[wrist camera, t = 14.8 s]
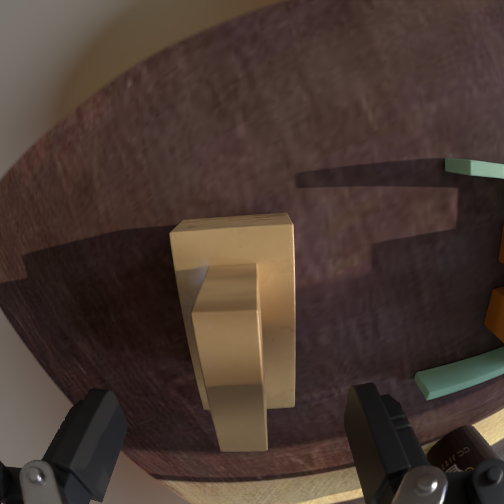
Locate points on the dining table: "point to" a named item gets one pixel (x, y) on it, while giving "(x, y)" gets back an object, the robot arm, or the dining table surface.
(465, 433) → the coffee mug
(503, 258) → the crumb
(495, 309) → the crumb
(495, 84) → the dining table surface
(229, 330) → the stepped wooden block
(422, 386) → the green u-shaped pusher
